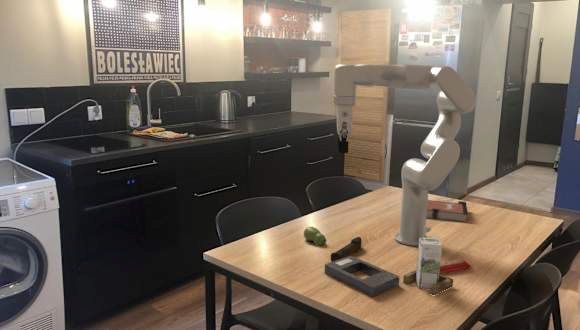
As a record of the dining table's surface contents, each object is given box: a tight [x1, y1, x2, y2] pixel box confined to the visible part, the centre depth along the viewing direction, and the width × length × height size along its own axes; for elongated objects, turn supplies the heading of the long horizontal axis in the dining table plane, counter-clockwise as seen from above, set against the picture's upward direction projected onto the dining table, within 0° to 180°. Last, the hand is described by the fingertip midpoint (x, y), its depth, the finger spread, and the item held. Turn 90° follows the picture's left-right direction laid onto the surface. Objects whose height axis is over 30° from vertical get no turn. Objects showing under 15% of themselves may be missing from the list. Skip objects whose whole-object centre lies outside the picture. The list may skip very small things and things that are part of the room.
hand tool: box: [330, 236, 362, 262], centre depth 165 cm, size 19×4×5 cm, turn 142°
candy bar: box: [439, 259, 472, 275], centre depth 155 cm, size 16×4×3 cm, turn 112°
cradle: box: [402, 269, 454, 296], centre depth 144 cm, size 10×11×2 cm
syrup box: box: [415, 237, 443, 290], centre depth 143 cm, size 6×6×14 cm
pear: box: [303, 226, 327, 247], centre depth 177 cm, size 6×5×10 cm
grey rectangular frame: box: [324, 255, 400, 298], centre depth 147 cm, size 12×20×3 cm, turn 40°
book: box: [426, 199, 469, 223], centre depth 215 cm, size 26×18×5 cm
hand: (342, 150), depth 166 cm, fingers open, 9 cm apart
